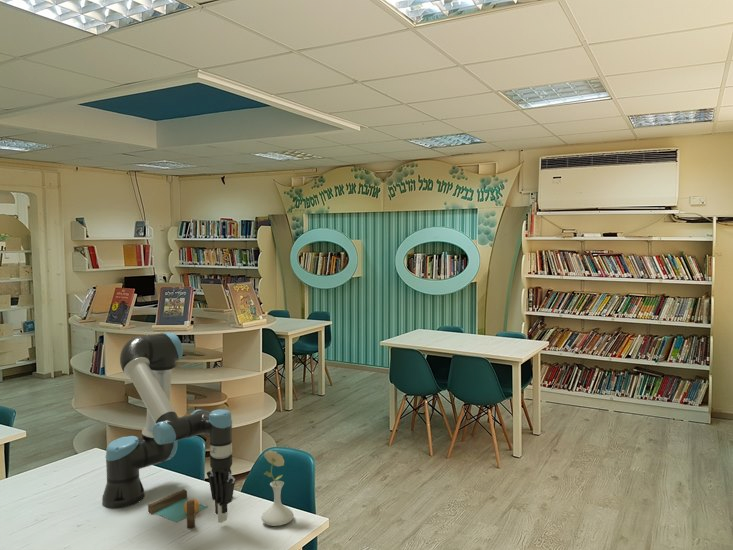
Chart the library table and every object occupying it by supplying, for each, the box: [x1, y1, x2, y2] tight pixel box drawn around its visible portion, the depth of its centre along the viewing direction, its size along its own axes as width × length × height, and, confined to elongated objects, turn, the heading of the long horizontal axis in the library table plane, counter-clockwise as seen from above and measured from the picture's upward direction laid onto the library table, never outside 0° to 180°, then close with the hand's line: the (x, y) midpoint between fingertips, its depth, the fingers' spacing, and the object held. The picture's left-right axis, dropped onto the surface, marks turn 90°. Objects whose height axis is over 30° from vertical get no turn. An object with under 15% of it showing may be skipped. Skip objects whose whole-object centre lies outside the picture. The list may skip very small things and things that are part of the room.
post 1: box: [186, 499, 196, 530], centre depth 194 cm, size 3×3×9 cm
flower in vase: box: [261, 449, 294, 527], centre depth 198 cm, size 13×11×25 cm
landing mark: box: [153, 498, 208, 523], centre depth 207 cm, size 14×14×1 cm
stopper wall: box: [147, 489, 188, 515], centre depth 211 cm, size 2×16×3 cm, turn 146°
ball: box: [184, 498, 200, 514], centre depth 203 cm, size 6×6×6 cm
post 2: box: [214, 500, 218, 515], centre depth 204 cm, size 3×3×9 cm
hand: (222, 520), depth 194 cm, fingers closed
